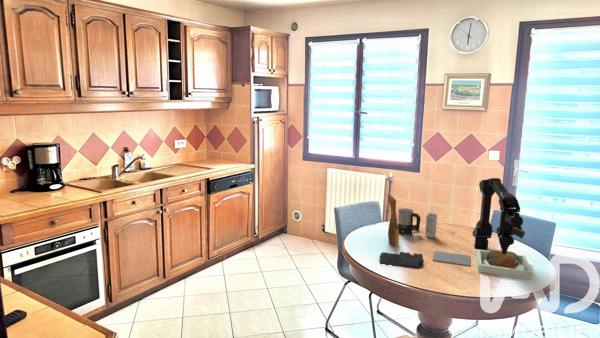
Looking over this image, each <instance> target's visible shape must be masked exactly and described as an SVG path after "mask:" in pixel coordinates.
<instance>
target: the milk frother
mask: <svg viewBox="0 0 600 338" xmlns="http://www.w3.org/2000/svg"><path fill="white" fill-rule="evenodd" d="M397 211H398V214H397V222H398V232H399V233H400V234H399V235H403V234H406V235H405V236H408V234H410V235H412V234H413V231H414V230H415V231H416V232H418V231H419V230H420V226H421V215H420V214H418V213H416V212H414V209H411V208H404V207H402V208H398V209H397ZM414 218H416V224H414V223H413V221H414V220H413V219H414Z"/></svg>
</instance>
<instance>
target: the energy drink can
mask: <svg viewBox="0 0 600 338" xmlns="http://www.w3.org/2000/svg"><path fill="white" fill-rule="evenodd" d="M437 222H438V215H437V213H436V212H433V211H428V212H427V214H426V219H425V234H424V235H425V237H426V236H427V237H426V238H428V237H429V239H434V238H435V237H436V235H437V234H436V233H437Z"/></svg>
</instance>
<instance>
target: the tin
mask: <svg viewBox="0 0 600 338" xmlns="http://www.w3.org/2000/svg"><path fill="white" fill-rule="evenodd" d="M488 251H489V252H488V254H487V257H486V258H485V259H486V262H487V264H488V265H491V266H498V267H505V268H512V269H518V267H519V266H520V264H521V263H520V259H519V257H518V256H517V255H518V254H517V253H515V252H514V251H513V252H512V251H508V250H507V252H506V254H503V252H502V250H499V249H491V250H488Z"/></svg>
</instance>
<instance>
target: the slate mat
mask: <svg viewBox="0 0 600 338" xmlns="http://www.w3.org/2000/svg"><path fill="white" fill-rule="evenodd" d="M432 262H439V263H445V264H451V265H452V264H453V265H458V266H463V267H464V266H465V267H471V257H470V255H467V254H459V253H453V252H447V251H445V252H444V251H439V250H434V251H433V256H432Z"/></svg>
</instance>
